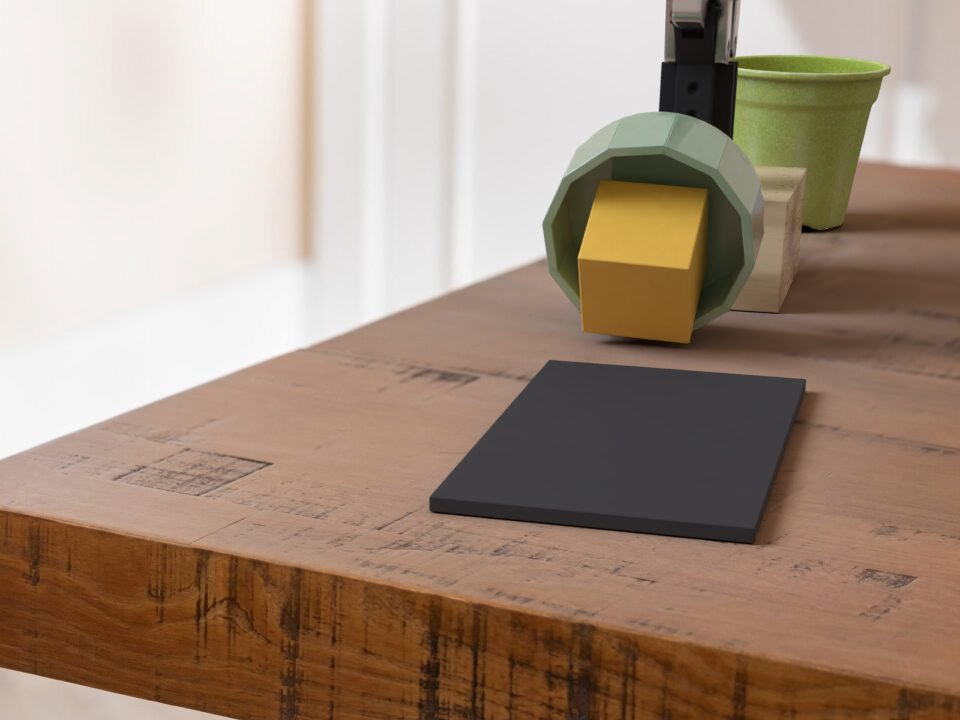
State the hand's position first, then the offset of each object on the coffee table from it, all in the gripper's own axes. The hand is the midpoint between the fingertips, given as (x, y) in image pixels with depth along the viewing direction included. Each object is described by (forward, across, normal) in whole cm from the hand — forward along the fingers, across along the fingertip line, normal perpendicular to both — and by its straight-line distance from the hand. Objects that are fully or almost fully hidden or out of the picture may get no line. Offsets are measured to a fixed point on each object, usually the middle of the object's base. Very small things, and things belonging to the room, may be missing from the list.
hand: (694, 152), depth 85 cm
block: (+2, -8, 0) cm, 8 cm away
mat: (+7, -24, -2) cm, 25 cm away
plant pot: (+7, +21, -3) cm, 22 cm away
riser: (+7, +3, 0) cm, 7 cm away
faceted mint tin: (+1, -7, 0) cm, 7 cm away
